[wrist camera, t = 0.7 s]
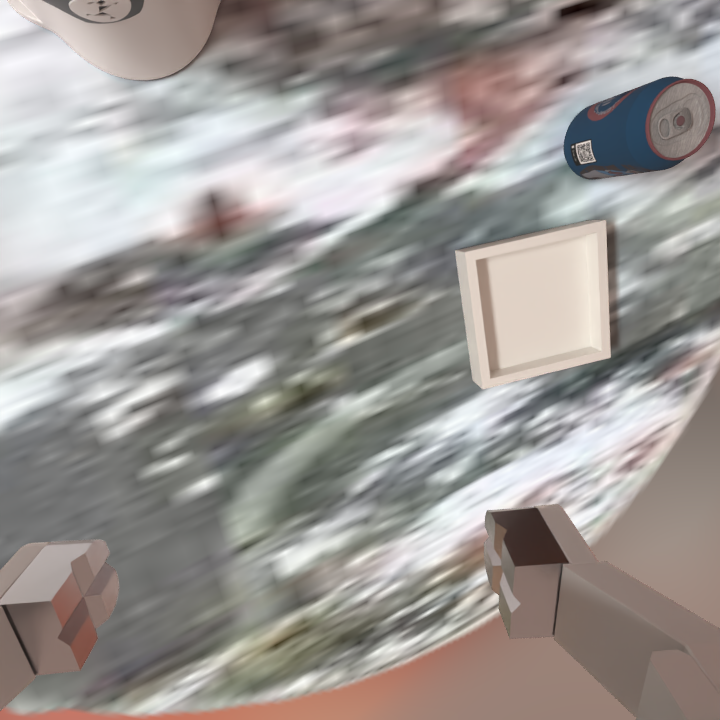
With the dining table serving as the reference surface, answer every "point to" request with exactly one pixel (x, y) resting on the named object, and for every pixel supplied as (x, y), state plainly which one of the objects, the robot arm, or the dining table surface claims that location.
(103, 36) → the robot arm
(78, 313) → the dining table surface
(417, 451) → the dining table surface
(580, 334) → the tray
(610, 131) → the soda can
